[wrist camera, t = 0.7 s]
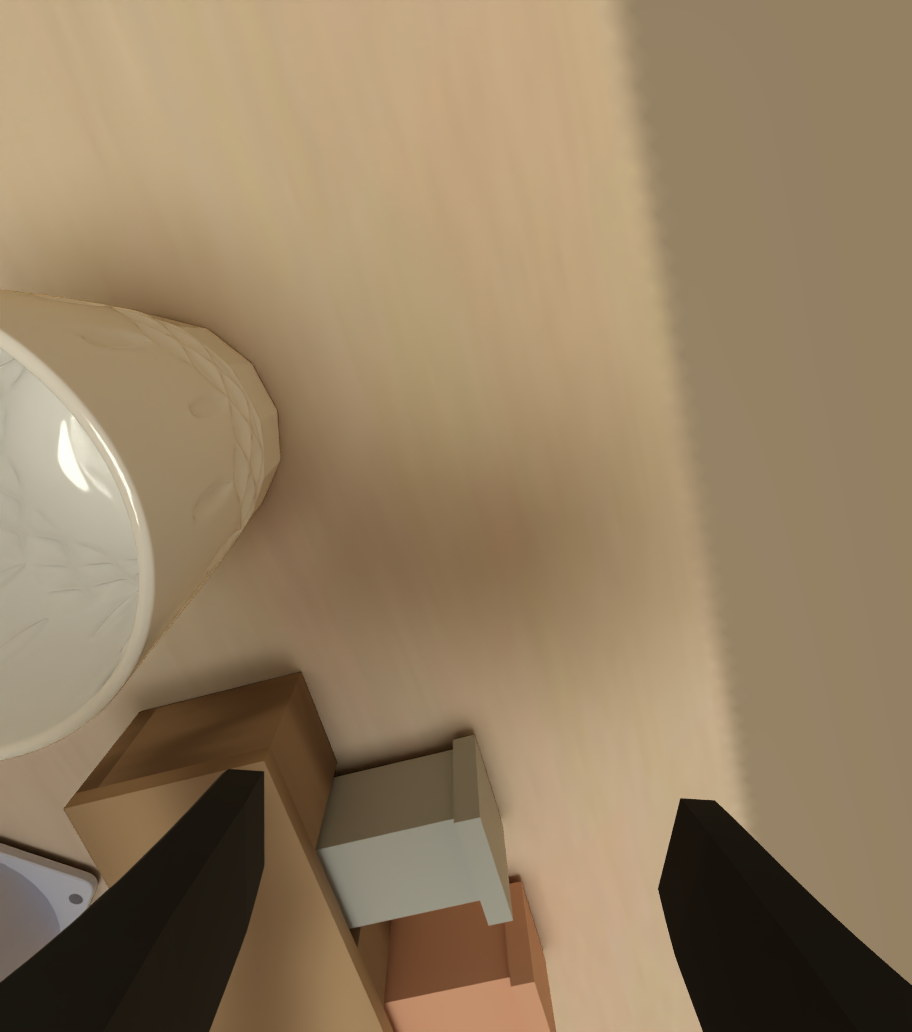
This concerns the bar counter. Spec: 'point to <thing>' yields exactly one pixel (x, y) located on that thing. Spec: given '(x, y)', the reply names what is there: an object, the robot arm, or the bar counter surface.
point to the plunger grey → (416, 839)
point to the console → (287, 844)
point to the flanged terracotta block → (467, 972)
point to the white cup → (111, 496)
